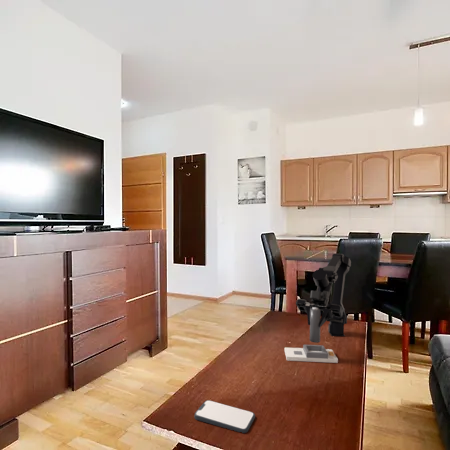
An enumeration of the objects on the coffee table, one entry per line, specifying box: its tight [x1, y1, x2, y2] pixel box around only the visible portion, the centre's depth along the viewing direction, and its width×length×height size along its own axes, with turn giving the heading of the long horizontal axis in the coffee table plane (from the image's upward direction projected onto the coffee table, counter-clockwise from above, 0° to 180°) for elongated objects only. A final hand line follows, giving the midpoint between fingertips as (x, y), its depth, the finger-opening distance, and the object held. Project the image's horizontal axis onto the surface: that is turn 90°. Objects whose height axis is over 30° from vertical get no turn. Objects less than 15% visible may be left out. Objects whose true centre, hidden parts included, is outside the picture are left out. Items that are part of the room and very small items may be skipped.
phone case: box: [193, 399, 256, 434], centre depth 91 cm, size 9×2×16 cm
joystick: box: [309, 307, 322, 344], centre depth 132 cm, size 4×4×14 cm
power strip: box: [284, 344, 339, 364], centre depth 133 cm, size 20×10×4 cm, turn 85°
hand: (314, 325), depth 131 cm, fingers closed on joystick, 4 cm apart
